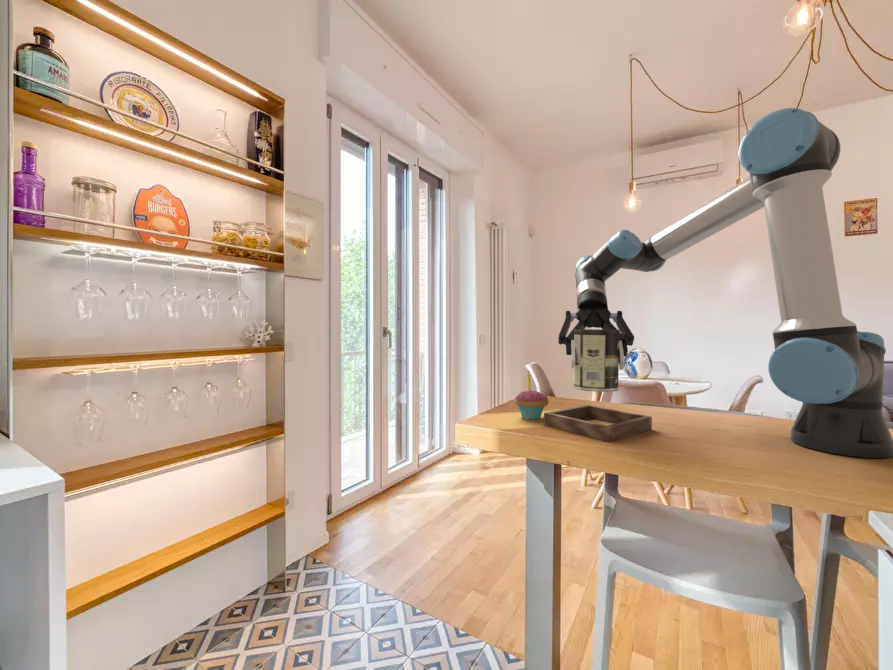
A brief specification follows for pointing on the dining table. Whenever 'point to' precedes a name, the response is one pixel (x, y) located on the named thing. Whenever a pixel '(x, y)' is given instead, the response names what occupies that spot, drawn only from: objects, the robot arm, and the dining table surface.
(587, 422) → the dark brown wooden tray
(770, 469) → the dining table surface
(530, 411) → the cupcake
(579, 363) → the coffee can
